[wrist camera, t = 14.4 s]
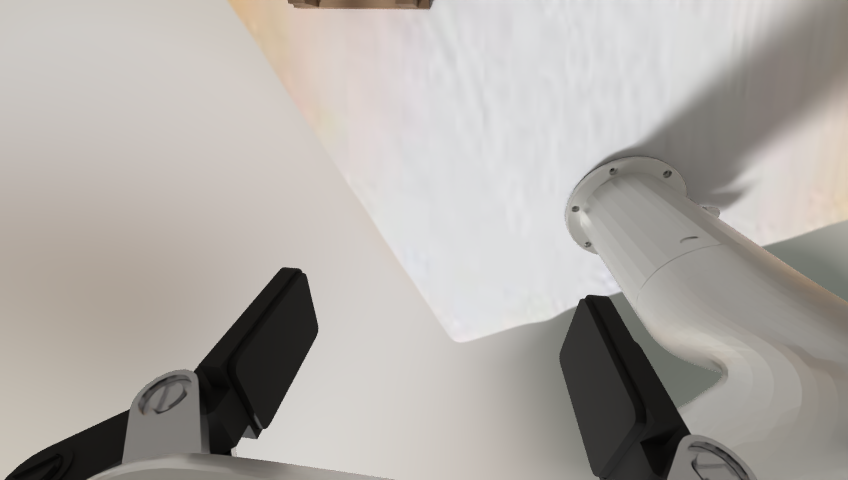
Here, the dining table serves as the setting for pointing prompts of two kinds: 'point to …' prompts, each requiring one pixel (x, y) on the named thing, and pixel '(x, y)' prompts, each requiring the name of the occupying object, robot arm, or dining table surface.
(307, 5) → the can holder
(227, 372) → the robot arm
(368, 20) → the dining table surface
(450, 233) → the dining table surface
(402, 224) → the dining table surface
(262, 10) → the dining table surface
